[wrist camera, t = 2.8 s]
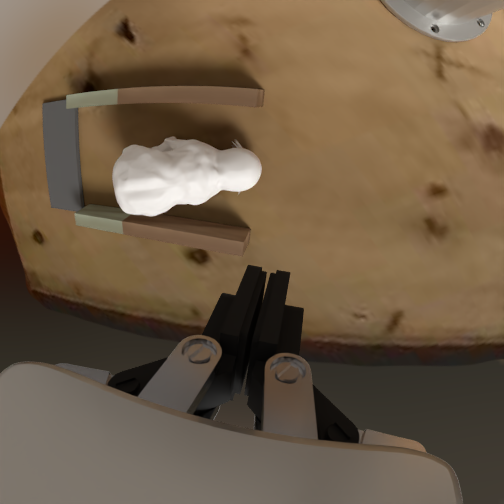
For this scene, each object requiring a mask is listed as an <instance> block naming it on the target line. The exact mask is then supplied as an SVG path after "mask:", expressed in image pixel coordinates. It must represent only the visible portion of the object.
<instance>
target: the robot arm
mask: <svg viewBox="0 0 504 504" xmlns="http://www.w3.org/2000/svg"><path fill="white" fill-rule="evenodd" d="M381 2H382V3H383V4H384V5H385V6H386V7H387V9H388V10H389V11H390V12H392V13H393V14H394V15H395V16H396V17H397V18H398V19H399V20H401V21H402V22H404V23H405V24H406V25H408V26H409V27H411V28H412V29H414V30H416V31H418V32H420V33H421V34H424V35H426V36H429V37H431V38H434V39H437V40H442V41H446V42H462V41H467V40H470V39H474V38H476V37H477V36H479V35H481V34H482V33H483V32H484V31H485V30H486V29H487V28H488V26H489V24H490V22H491V18H492V13H493V12H496V11H499V10H502V9H504V0H381ZM431 28H432V29H433V30H434V32H433V31H432V30H431ZM266 274H267V272H264V271H262V267H257V266H252V265H248V266H247V269H246V271H245V274H244V276H243V279H242V281H241V283H240V286H239V288H238V291H237V293H236V295H231V294H226V293H222V294H221V296H220V298H219V300H218V302H217V304H216V306H215V309H214V311H213V313H212V315H211V317H210V319H209V321H208V323H207V325H206V327H205V330H204V332H203V334H202V335H194V336H190V337H187V338H185V339H184V340H182V341H181V342H180V343H179V344H178V346H177V347H176V348H175V350H174V351H173V352H172V354H171V355H170V356H169V357H167V358H164V359H161V360H158V361H155V362H152V363H149V364H145V365H142V366H139V367H136V368H132V369H129V370H126V371H122V372H120V373H117V374H115V375H111V374H110V372H108V371H102V370H97V369H91V368H86V367H81V366H76V365H71V364H65V363H61V364H57V365H51V364H46V363H40V362H19V363H15V364H13V365H11V366H9V367H8V368H7V369H5V370H4V371H3V372H2V373H1V374H0V504H463V501H462V494H461V490H460V486H459V482H458V479H457V476H456V474H455V472H454V470H453V469H452V467H451V466H450V465H449V464H448V463H446V462H445V461H443V460H442V459H440V458H438V457H436V456H433V455H431V454H428V453H426V451H425V449H424V447H423V446H422V445H421V444H420V443H418V442H416V441H413V440H409V439H404V438H400V437H396V436H391V435H388V434H384V433H380V432H376V431H372V430H368V429H366V430H365V431H361V430H358V429H357V428H356V426H355V425H354V424H353V423H352V422H351V421H350V420H349V419H348V418H347V417H346V416H345V415H344V414H343V413H342V412H341V411H340V410H339V409H338V408H336V407H335V406H334V405H333V404H332V403H331V402H330V401H329V400H328V399H327V398H326V397H325V396H324V395H323V394H322V393H321V392H320V391H319V390H318V389H317V388H316V387H315V386H314V385H313V384H312V377H311V370H310V366H309V365H308V363H307V362H306V361H305V360H304V359H303V358H301V357H300V356H299V351H300V342H301V332H302V323H303V312H304V308H300V307H294V306H288V305H285V301H286V295H287V289H288V284H289V278H290V272H285V271H279V270H277V271H276V274H275V273H271V274H270V277H269V281H268V285H267V288H266V292H265V295H264V288H265V281H266ZM263 295H264V299H263ZM262 302H263V303H262ZM247 368H248V373H247V380H246V387H245V395H247V396H249V397H248V403H247V405H248V406H249V408H250V409H251V410H252V411H253V412H254V414H255V419H254V429H249V428H244V427H239V426H235V425H231V424H226V423H222V422H218V421H214V418H215V416H216V414H217V413H218V410H219V408H220V405H221V404H223V403H226V402H228V401H229V400H233V397H234V394H235V393H237V394H240V392H241V389H242V386H243V382H244V379H245V375H246V371H247Z"/></svg>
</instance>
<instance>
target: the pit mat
mask: <svg viewBox="0 0 504 504" xmlns="http://www.w3.org/2000/svg"><path fill="white" fill-rule="evenodd" d="M43 135H44V150H45V162H46V171H47V180H48V188H49V195H50V202H51V208H58V209H64V210H70V211H79V210H81V209H82V208H84V199H83V190H82V180H81V169H80V155H79V134H78V108H70V109H66V100H61V101H55V102H49V103H43Z"/></svg>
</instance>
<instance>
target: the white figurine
mask: <svg viewBox="0 0 504 504" xmlns="http://www.w3.org/2000/svg"><path fill="white" fill-rule="evenodd" d="M235 140H236V139H235ZM236 141H237V140H236ZM236 141H235V142H236ZM236 143H237V145H238V146H239V147H238V146H237V145H236V144H235V143H234V142H233V144H234V145H235V146H236V147H237V148H231V149H227V150H218V149H216V148H214V147H212V146H210V145H208V144H206V143H203V142H200V141H198V140H195V139H191V140H181V139H176V137H174V136H172V137H169V138H166V139H165V140H164V142H163V143H162V144H161V145H159V146H155V147H152V148H147V147H144V146H139V145H135V144H134V145H131V146H129V147H126V148H124V149H123V152H122V155H121V156H120V157H119V158H118V160H117V161H116V163H115V165H114V168H113V176H112V179H113V186H114V191H115V196H116V200H117V202H118V204H119V206H120V207H121V209H122V210H123V211H124V212H125V213H127V214H133V215H145V216H156V215H159V214H161V213H164V212H166V211H168V210H169V209H170V208H172V207H173V206H174V205H176V204H192V205H199V204H202V203H204V202H206V201H207V200H208V199H210V198H211V197H212V196H214V195H215V194H217V193H218V192H219V191H221V190H228V191H238V192H239V193H240V191H244V190H247V189H249V188H251V187H253V186H254V185H255V184H256V183H257V181H258V180H259V178H260V175H261V170H262V168H261V163H260V161H259V158H258V157H257V156H256V155H255V154H254V153H253V152H252V151H250V150H247V149H244V148H243V147H242V146H241V145H240V144H239V143H238V141H237V142H236ZM231 146H232V145H231Z"/></svg>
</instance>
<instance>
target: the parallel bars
mask: <svg viewBox="0 0 504 504" xmlns="http://www.w3.org/2000/svg"><path fill="white" fill-rule="evenodd" d="M263 99H264V90H260V89H250V88H236V87H216V86H156V87H136V88H122V89H111V90H102V91H93V92H85V93H78V94H71V95H66V109H70V108H78V107H88V106H100V105H113V104H133V103H202V104H222V105H236V106H248V107H262V106H263ZM75 220H76V225H78V226H83V227H89V228H94V229H99V230H104V231H109V232H115V233H120V234H125V235H130V236H136V237H141V238H146V239H151V240H157V241H162V242H167V243H173V244H178V245H183V246H189V247H194V248H199V249H205V250H210V251H215V252H221V253H226V254H232V255H237V256H242V257H243V254H244V252H245V250H246V248H247V246H248V244H249V240H250V230H251V229H249V228H243V227H237V226H231V225H225V224H219V223H213V222H207V221H200V220H194V219H188V218H182V217H175V216H169V215H162V214H159V215H156V216H145V215H133V214H127V213H125V212H124V211H123V210H122V209H121V208H115V207H108V206H101V205H94V204H89V205H87V206H85V207H84V208H82V209H81V210H79V211H77V212H76V213H75Z"/></svg>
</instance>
